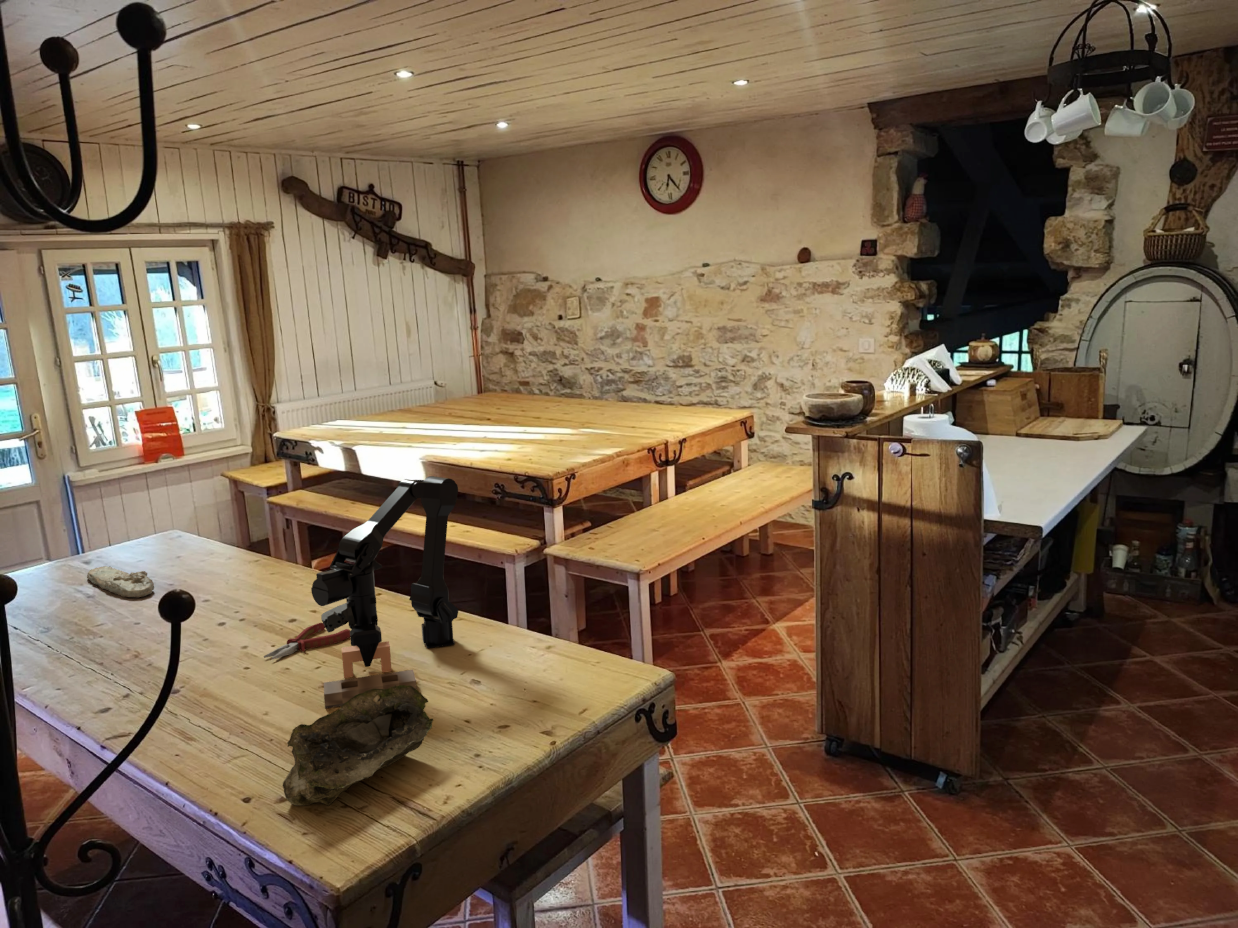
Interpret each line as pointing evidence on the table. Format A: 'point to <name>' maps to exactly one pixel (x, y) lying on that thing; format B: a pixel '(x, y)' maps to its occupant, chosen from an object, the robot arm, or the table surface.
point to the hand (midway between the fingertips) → (366, 660)
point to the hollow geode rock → (354, 743)
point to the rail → (364, 686)
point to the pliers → (309, 641)
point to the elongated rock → (121, 581)
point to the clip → (354, 655)
